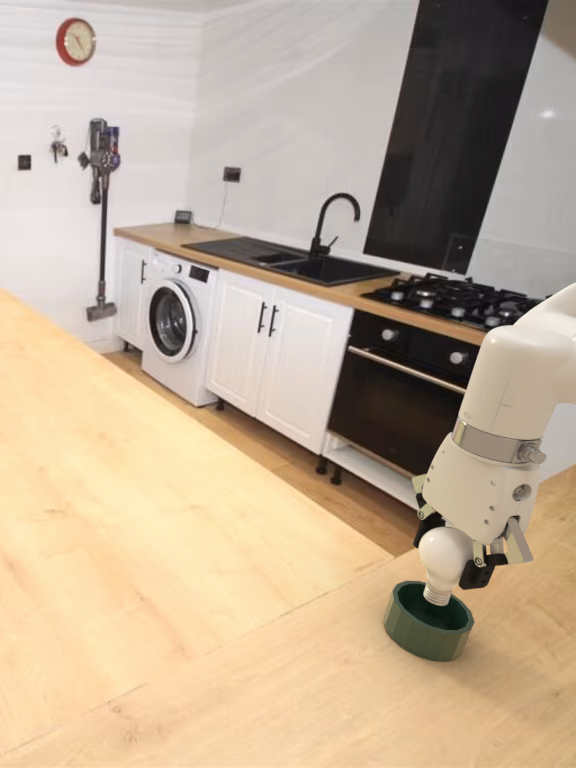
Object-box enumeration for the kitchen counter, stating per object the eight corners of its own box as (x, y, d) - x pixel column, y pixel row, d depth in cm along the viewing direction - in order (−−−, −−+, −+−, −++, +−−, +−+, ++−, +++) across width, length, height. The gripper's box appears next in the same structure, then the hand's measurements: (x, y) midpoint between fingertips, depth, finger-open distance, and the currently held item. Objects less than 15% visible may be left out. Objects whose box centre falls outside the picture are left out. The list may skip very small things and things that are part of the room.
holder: (434, 608, 75) (445, 581, 73) (478, 663, 67) (491, 634, 65) (371, 607, 75) (379, 579, 73) (406, 662, 67) (417, 633, 65)
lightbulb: (398, 602, 69) (418, 533, 65) (413, 576, 73) (432, 509, 69) (457, 630, 65) (482, 558, 60) (470, 600, 69) (494, 531, 64)
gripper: (606, 479, 52) (540, 617, 59) (459, 403, 68) (421, 519, 75) (539, 485, 51) (480, 625, 58) (406, 406, 67) (372, 524, 74)
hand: (447, 564), depth 67 cm, fingers closed on lightbulb, 6 cm apart
